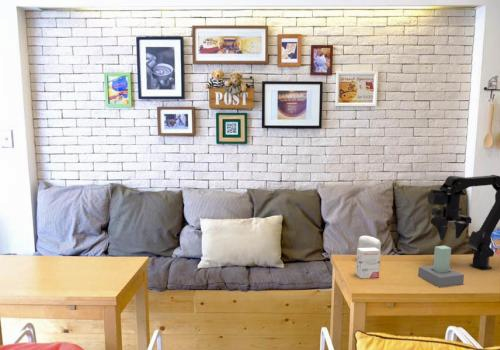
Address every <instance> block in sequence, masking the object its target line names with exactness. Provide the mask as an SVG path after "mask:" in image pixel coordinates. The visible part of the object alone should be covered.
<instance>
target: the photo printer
mask: <svg viewBox="0 0 500 350" xmlns="http://www.w3.org/2000/svg"><path fill="white" fill-rule="evenodd" d="M381 247H382V242H381V240H380V239H378V238H376V237H373V236H371V235H361V236H359V238H358V245H357V248H377V249H378V250H380V251H381V249H382V248H381Z"/></svg>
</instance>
